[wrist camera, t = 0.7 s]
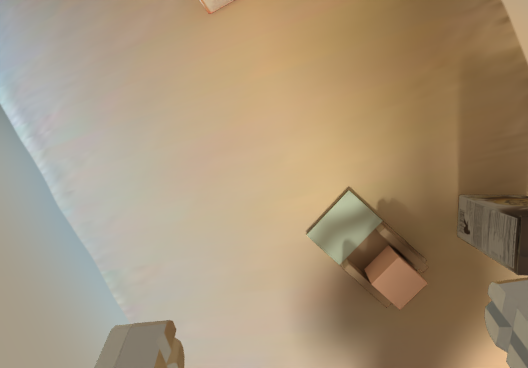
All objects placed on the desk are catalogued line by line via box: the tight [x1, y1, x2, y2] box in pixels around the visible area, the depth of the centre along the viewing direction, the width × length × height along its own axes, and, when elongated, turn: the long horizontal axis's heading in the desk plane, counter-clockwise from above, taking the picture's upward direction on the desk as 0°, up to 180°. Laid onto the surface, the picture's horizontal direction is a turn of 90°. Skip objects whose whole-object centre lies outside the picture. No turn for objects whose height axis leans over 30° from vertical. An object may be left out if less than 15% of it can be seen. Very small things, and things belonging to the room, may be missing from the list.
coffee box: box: [457, 195, 528, 275], centre depth 46 cm, size 9×6×16 cm
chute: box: [306, 190, 428, 308], centre depth 55 cm, size 15×9×4 cm, turn 48°
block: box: [364, 245, 428, 310], centre depth 53 cm, size 5×5×6 cm
